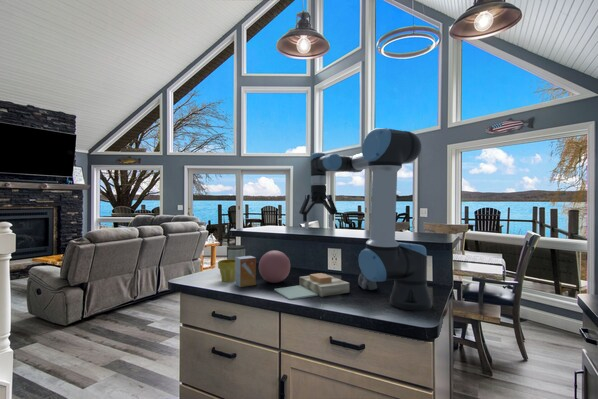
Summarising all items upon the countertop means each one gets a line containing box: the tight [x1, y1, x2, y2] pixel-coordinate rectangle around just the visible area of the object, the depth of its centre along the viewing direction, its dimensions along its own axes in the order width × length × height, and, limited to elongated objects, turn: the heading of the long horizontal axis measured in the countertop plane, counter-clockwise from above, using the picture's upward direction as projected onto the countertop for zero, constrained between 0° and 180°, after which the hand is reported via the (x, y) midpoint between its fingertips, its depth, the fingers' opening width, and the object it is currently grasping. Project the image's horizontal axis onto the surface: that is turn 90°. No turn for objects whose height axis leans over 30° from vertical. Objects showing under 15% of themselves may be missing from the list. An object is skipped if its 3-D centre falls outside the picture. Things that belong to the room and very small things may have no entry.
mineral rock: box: [357, 272, 378, 291], centre depth 148 cm, size 13×11×10 cm
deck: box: [299, 273, 350, 298], centre depth 144 cm, size 20×14×4 cm
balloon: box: [258, 249, 291, 284], centre depth 158 cm, size 15×20×15 cm
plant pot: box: [217, 258, 235, 283], centre depth 160 cm, size 10×10×10 cm
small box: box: [234, 255, 257, 288], centre depth 152 cm, size 8×6×13 cm
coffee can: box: [226, 244, 246, 259], centre depth 181 cm, size 10×10×14 cm
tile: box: [309, 272, 333, 283], centre depth 144 cm, size 9×6×2 cm, turn 27°
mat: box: [273, 284, 319, 301], centre depth 138 cm, size 16×13×1 cm
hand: (318, 228), depth 158 cm, fingers open, 13 cm apart
